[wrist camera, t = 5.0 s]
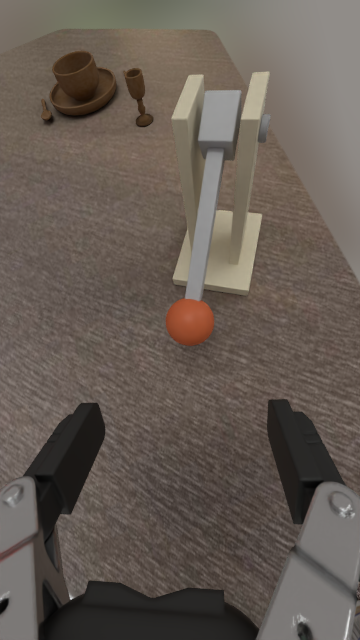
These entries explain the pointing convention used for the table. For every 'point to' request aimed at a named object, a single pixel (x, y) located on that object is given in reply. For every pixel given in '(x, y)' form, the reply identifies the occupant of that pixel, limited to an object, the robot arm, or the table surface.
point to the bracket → (238, 225)
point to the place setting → (90, 87)
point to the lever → (206, 213)
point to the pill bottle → (356, 623)
